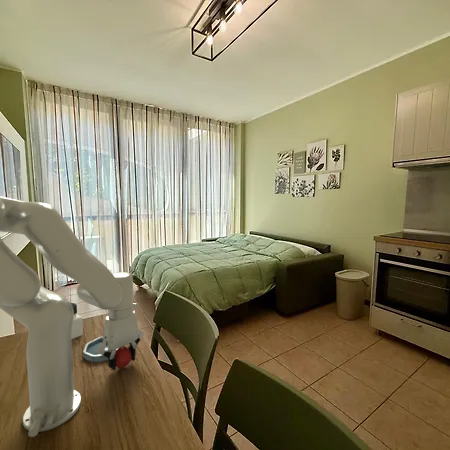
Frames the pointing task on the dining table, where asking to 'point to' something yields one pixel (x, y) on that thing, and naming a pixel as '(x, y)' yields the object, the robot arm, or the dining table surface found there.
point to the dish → (94, 351)
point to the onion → (122, 357)
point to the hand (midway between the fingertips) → (122, 362)
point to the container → (76, 323)
